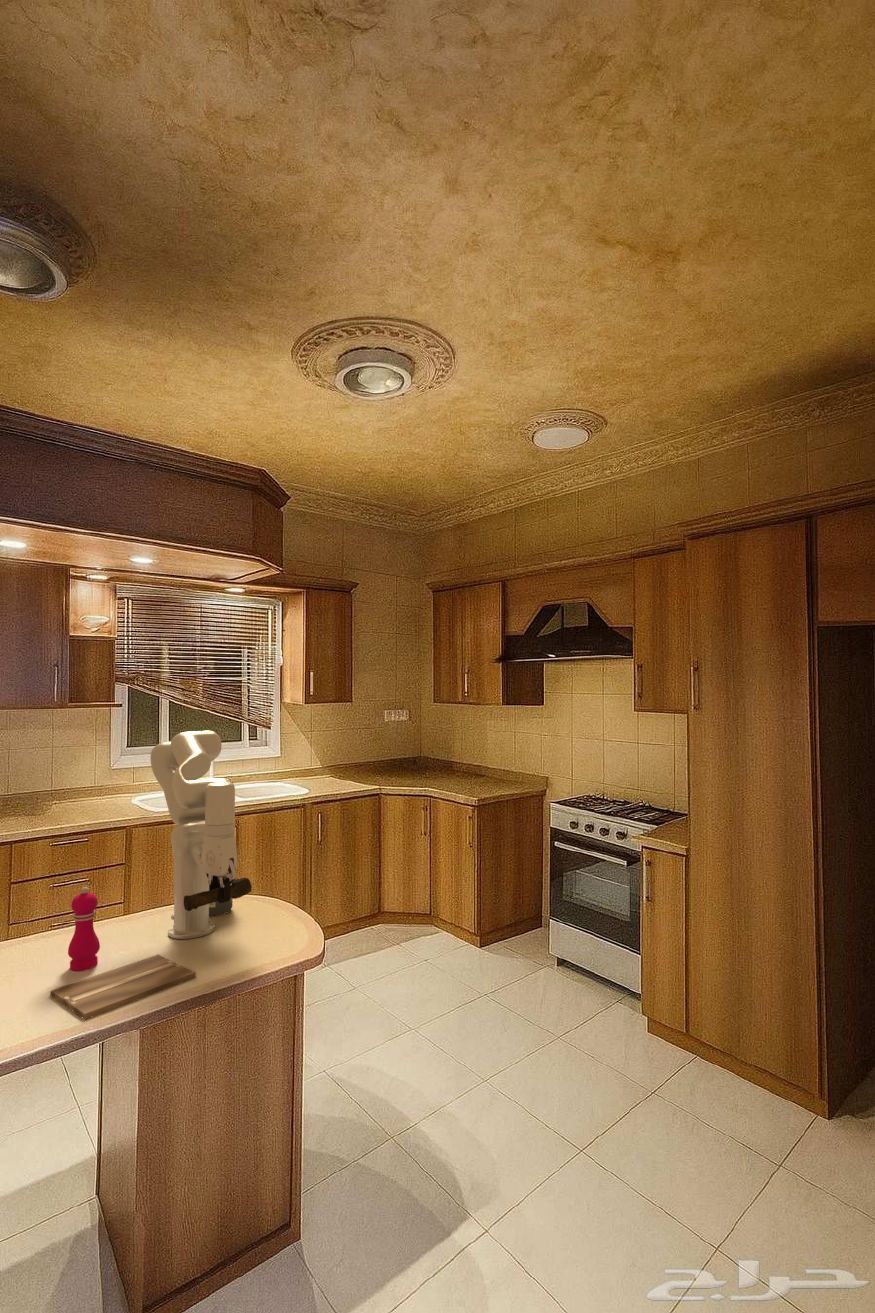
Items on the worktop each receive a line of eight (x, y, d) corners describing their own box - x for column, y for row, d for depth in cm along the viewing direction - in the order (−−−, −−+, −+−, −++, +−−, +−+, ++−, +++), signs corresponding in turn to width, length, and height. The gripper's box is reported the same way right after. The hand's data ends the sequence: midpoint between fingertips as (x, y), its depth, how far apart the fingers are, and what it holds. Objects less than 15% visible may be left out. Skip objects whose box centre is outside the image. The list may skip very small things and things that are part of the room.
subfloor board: (50, 996, 153) (50, 990, 153) (158, 959, 173) (158, 954, 173) (84, 1019, 141) (84, 1013, 141) (195, 977, 162) (195, 972, 162)
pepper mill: (94, 958, 174) (95, 881, 175) (103, 966, 169) (104, 886, 170) (63, 966, 169) (65, 887, 170) (72, 975, 164) (73, 893, 165)
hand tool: (189, 913, 165) (190, 894, 165) (182, 909, 168) (182, 891, 168) (256, 895, 179) (256, 878, 179) (248, 892, 182) (248, 875, 182)
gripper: (189, 828, 176) (189, 898, 176) (226, 836, 166) (226, 910, 166) (214, 823, 182) (213, 891, 182) (251, 831, 172) (251, 902, 172)
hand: (219, 899), depth 174 cm, fingers closed on hand tool, 3 cm apart
